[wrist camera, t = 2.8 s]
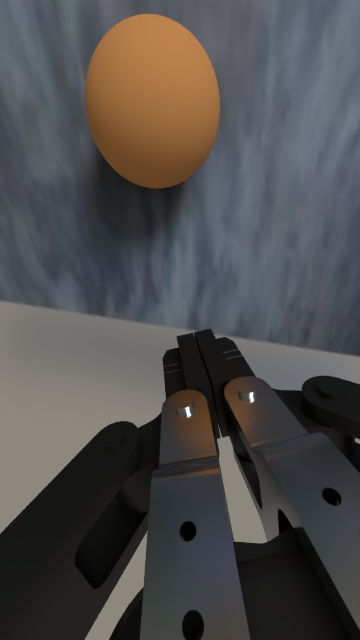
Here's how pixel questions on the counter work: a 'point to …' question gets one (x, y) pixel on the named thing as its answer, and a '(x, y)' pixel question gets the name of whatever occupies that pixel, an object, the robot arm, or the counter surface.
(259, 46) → the counter surface
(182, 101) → the ball
